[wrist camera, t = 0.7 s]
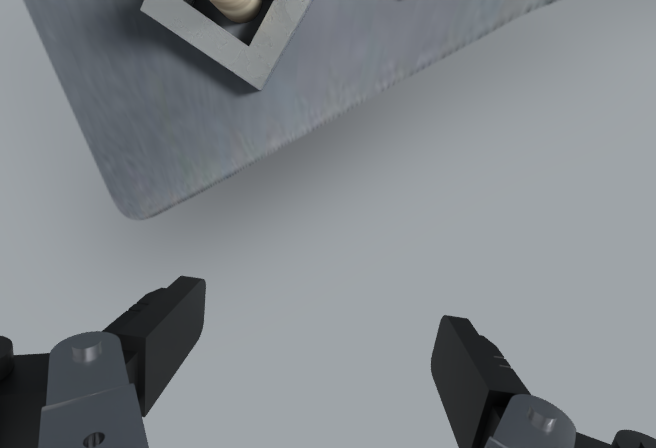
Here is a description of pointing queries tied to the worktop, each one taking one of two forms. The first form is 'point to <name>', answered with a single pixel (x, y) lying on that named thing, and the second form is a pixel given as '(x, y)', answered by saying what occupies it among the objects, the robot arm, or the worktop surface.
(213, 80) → the worktop surface
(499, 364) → the robot arm
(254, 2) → the key peg
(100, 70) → the worktop surface
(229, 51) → the grey square frame
